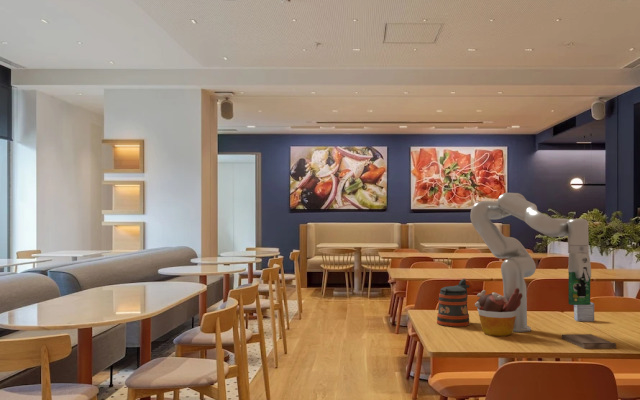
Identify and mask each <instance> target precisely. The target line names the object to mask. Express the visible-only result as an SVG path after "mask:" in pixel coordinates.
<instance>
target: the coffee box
mask: <svg viewBox="0 0 640 400" xmlns="http://www.w3.org/2000/svg"><path fill="white" fill-rule="evenodd" d="M581 278H583V277H581ZM567 282H568V286H567V287H568V293H567V295H568V296H567V297H568V299H567V300H568V302H567V303H568V305H571V306H574V305H590V302H591V278H589V281H588V282H587V283H586V296H577V286H578V278H576V276H575V272H569V273H568V281H567Z"/></svg>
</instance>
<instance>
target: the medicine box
mask: <svg viewBox="0 0 640 400" xmlns="http://www.w3.org/2000/svg"><path fill="white" fill-rule="evenodd" d="M573 314H574V315H573V317H574V321H576V322H595V303H593V302H591V301H590V305H573Z"/></svg>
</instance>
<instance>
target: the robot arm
mask: <svg viewBox="0 0 640 400" xmlns="http://www.w3.org/2000/svg"><path fill="white" fill-rule="evenodd" d="M469 215H470V222H471V224H472V226H473V228H474V230H475V231H476V232H477V233H478V235H479V236H480V238H481V239H482V240H483V242H484V244H485V245H486V246H487V248H488V249H489V251H490V252H491V254H492V255H493V256H494V258H495V257H496V258H497V259H504V260H503V261H502V263H501V265H500V272H501V277H502V285H503V288H502V289H503V297H505V299H506V300H507V301H509V299H510V297H511V295H512V294H513V293H514V290H515V289H516V288H519V290H520V291H519V293H522V295H523V296H522V298H521V300H520V301H521V304H520V306H519V307H518V308H517V309H516V310H517V314H516V318H515V323H514V328H513V332H514V333H525V332H531V331H532V328H531V327H530V326H528V311H527V310H528V309H527V307H528V306H527V303H528V302H527V301H528V300H527V299H528V298H527V284H526V282H525V278H530V277H532V276H533V275H534V274H535V273H536V267H537V265H536V263H535V260H534V258H533V257H532V256H531V254H529V252H528V251H527V249H526V248H525V246H524V245H523V244H522V243H521V241H519V240H518V239H517V238H515V237H511V236H505V235H504V234H503V233H502V232H501V230H500V229H499V227H498V226H497V225H496V224H495V223H493V222H492V220H500V219H503V218H506V217H510V216H512V217H514V218H518V219H519V220H521V221H523V222H525V224H526V225H528V226H529V227H530V228H531V229H533V230H535V231H537V232H539V233H541V234H543V235H544V236H547V237H551V238H557V237H559V238H561V237H562V238H564V237H567V251H568V252H567V253H568V260H567V261H568V262H567V263H568V267H567V269H568V270H567V271H568V274H569V272H575V276H576V278H578V286H577V296H586V283H587V282H588V281H589V278H590V279H591V278H592V266H591V265H592V263H591V258H590V250H589V247H590V245H589V221H588V220H587V219H585V218H570V219H568V218H558V217H557V218H553V217H550V216H548V215H546V214H544V213H542V212H541V211H539V210H538V207H537V205H536V203H533V202H531V201H528V200H527V198H526V197H525V196H524V195H523V194H521V193H519V192H504V193H502V194H500V195H499V197H498V198H497V200H496V201H494V200H493V201H490V200H482V201H478V202H476V203H475V204H473V206H472V207H471V210H470V214H469ZM581 277H583V278H581ZM513 332H512V333H513Z"/></svg>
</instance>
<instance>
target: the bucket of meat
mask: <svg viewBox="0 0 640 400" xmlns="http://www.w3.org/2000/svg"><path fill="white" fill-rule="evenodd" d="M519 291H520V290H519V288H516V289H515V290H514V293H513V294H512V295H511V297H510V299H509V301H507V300H506V299H505V297H504V295H501V294H499V293H497V292H493V291H492V293H489V294H486V293H487V291H486V290H485V289H483V290H482V291H481V292H479V293H477V294H476V296H477V298H478V299H477V300H476V302H475V303H474V306H475V307H476V308H477V313H478V317H479V321H480V326H481V330H482V332H483V334H485V335H487V336H490V337H491V336H492V337H508V336H510V335H512V334H513V328H514V323H515V318H516V314H517V310H516V309H517V308H518V307H519V306H520V304H521V301H520V300H521V298H522V296H523V295H522V293H519Z"/></svg>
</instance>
